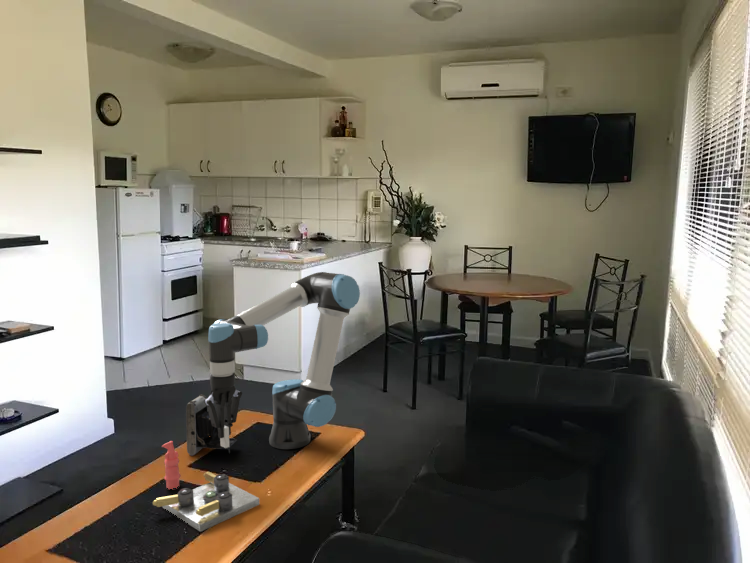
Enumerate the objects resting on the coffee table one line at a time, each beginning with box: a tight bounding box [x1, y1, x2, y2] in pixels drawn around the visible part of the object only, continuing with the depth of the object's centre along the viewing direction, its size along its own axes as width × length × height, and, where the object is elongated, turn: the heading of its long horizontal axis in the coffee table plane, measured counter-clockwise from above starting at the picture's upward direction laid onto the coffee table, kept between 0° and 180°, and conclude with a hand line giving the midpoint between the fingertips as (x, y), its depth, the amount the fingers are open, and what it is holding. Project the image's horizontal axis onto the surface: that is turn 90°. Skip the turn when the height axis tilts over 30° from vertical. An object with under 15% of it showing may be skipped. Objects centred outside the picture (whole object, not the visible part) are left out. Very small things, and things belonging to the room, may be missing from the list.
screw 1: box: [152, 487, 194, 508], centre depth 180 cm, size 11×4×4 cm, turn 111°
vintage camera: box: [185, 394, 238, 457], centre depth 222 cm, size 10×16×20 cm, turn 79°
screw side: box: [196, 492, 232, 516], centre depth 176 cm, size 11×4×4 cm, turn 138°
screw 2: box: [203, 471, 230, 491], centre depth 192 cm, size 11×4×4 cm, turn 48°
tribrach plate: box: [162, 482, 260, 532], centre depth 183 cm, size 20×20×4 cm
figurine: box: [161, 440, 182, 490], centre depth 195 cm, size 5×5×15 cm
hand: (224, 446), depth 196 cm, fingers closed
